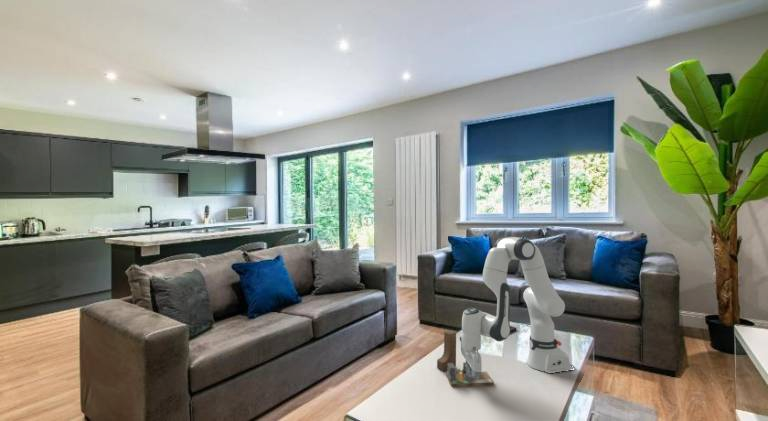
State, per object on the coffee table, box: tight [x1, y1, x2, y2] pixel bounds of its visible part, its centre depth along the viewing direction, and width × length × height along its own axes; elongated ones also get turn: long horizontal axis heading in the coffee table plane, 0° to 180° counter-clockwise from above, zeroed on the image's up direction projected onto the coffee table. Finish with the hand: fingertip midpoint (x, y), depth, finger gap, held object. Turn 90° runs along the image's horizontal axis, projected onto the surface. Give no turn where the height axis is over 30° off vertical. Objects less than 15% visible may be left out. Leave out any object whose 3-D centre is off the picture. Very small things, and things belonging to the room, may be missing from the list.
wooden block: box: [436, 329, 457, 372], centre depth 179 cm, size 9×4×18 cm, turn 122°
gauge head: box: [458, 361, 479, 382], centre depth 165 cm, size 8×8×6 cm
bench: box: [445, 363, 495, 388], centre depth 167 cm, size 20×10×8 cm, turn 94°
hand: (470, 372), depth 167 cm, fingers closed on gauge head, 5 cm apart
